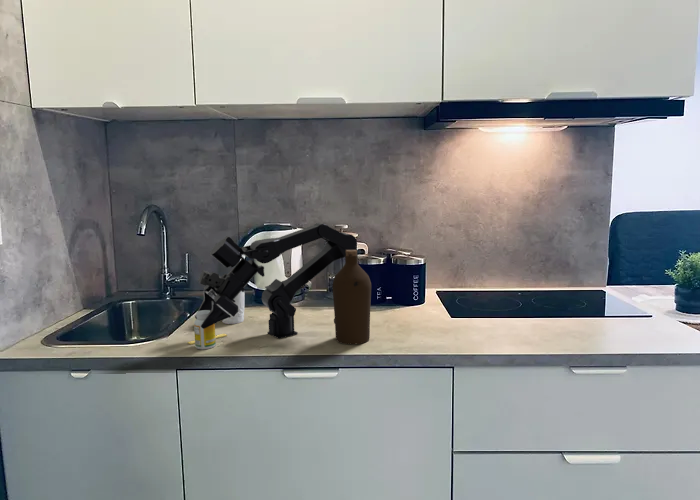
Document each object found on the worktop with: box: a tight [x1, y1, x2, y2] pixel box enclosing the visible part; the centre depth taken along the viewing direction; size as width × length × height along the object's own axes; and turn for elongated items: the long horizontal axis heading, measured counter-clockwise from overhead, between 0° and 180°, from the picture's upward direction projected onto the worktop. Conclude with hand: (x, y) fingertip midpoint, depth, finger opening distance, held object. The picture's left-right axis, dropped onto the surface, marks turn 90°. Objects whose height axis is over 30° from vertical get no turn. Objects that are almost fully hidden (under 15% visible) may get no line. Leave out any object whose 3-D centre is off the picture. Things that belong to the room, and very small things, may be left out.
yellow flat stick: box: [187, 333, 228, 346], centre depth 149 cm, size 11×2×1 cm, turn 130°
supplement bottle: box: [193, 310, 216, 350], centre depth 143 cm, size 5×5×10 cm
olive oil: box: [332, 249, 372, 346], centre depth 145 cm, size 11×11×25 cm
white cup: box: [221, 291, 245, 325], centre depth 166 cm, size 8×8×10 cm
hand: (199, 323), depth 142 cm, fingers open, 9 cm apart
